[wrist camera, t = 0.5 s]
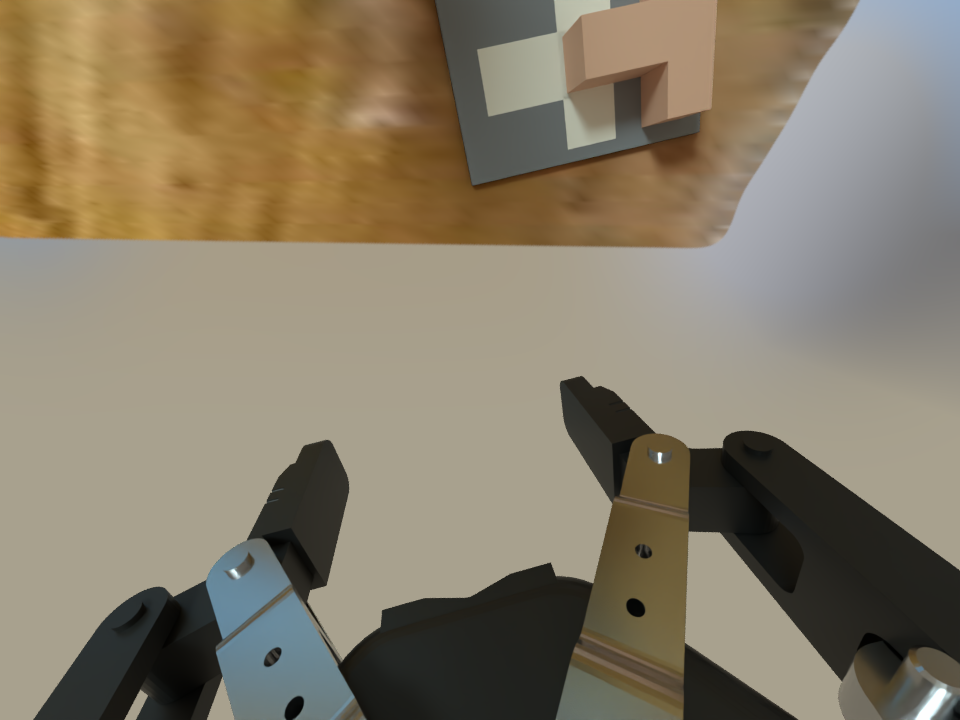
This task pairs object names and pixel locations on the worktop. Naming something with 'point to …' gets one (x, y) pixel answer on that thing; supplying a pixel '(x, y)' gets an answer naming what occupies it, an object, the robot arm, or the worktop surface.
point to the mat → (535, 89)
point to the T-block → (648, 54)
